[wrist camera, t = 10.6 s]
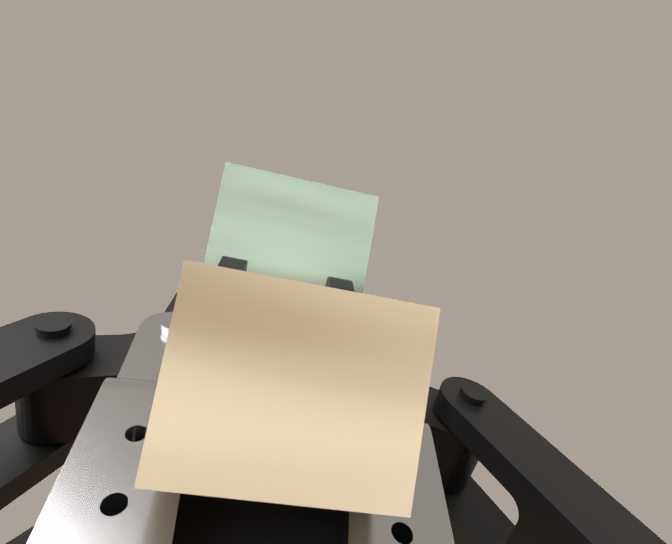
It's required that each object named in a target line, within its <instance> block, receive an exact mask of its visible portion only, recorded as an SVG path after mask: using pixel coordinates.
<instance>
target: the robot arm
mask: <svg viewBox="0 0 672 544" xmlns="http://www.w3.org/2000/svg"><path fill="white" fill-rule="evenodd" d="M247 264H248V260H243V259H238V258H233V257H227V256H222V258H221V260H220V262H219V264H218V266H220V267H226V268H231V269H236V270H242V271H247ZM325 286H326V287H331V288H336V289H342V290H347V291H352V292H355V290H354V286H353V282H352V281H351V280H345V279H340V278H335V277H330V276H329V277H328V278H327V281H326V284H325ZM176 297H177V293H176V295H175V296H174V298H173V300H172V301H171V303H170V304H169V306H168V307H167V309H166V311H165V312H164V313H159V314H155V315H152V316H150V317H148V318H147V319H145V320H144V321H143V322H142V323H141V324H140V326H139V328H138V331H137V332H136V333H132V334H124V335H95V325H94V323H93V322H92V321H91V320H90V319H89V318H87V317H85V316H83V315H79V314H76V313H70V312H48V313H42V314H38V315H33V316H30V317H27V318H24V319H22V320H19V321H16V322H13V323H11V324H8V325H5V326H3V327H0V409H1V408H3V407H5V406H7V405H9V404H11V403H13V402H15V408H16V415H15V416H13V417H11V418H10V419H8V420H6V421H4V422H3V423H1V424H0V510H1V509H2V508H4V507H5V506H7V505H8V504H9V503H11V502H12V501H13V500H15V499H16V498H18V497H19V496H20V495H22V494H23V493H25V492H26V491H27V490H29V489H30V488H32V487H33V486H34V485H36V484H37V483H39V482H40V481H41V480H43V479H44V478H45V477H47V476H48V475H49V474H51V473H52V472H54V471H55V470H57V469H58V468H59V467H61V466H62V465H63V467H62V469H61V471H60V473H59V476H58V478H57V480H56V482H55V484H54V486H53V488H52V490H51V492H50V494H49V497H48V499H47V501H46V503H45V505H44V507H43V509H42V512H41V513H40V516H39V518H38V520H37V522H36V524H35V525H34V526H33V527H31V528H30V529H28V530H26V531H25V532H23V533H22V534H20V535H19V536H17V537H16V538H14V539H13V540H11V541H9V542H8V543H6V544H666V543H665V542H663V540H661V539H660V538H659V537H658V536H657V535H656V534H655V533H653V532H652V531H651V530H650V529H649V528H648V527H646V526H645V525H644V524H643V523H642V522H641V521H640V520H638V519H637V518H636V517H635V516H634V515H632V514H631V513H630V512H629V511H628V510H627V509H626V508H624V507H623V506H622V505H621V504H620V503H619V502H618V501H616V500H615V499H614V498H613V497H612V496H611V495H609V494H608V493H607V492H606V491H605V490H604V489H603V488H601V487H600V486H599V485H598V484H597V483H596V482H594V481H593V480H592V479H591V478H590V477H589V476H587V475H586V474H585V473H584V472H583V471H582V470H580V469H579V468H578V467H577V466H576V465H575V464H574V463H572V462H571V461H570V460H569V459H568V458H567V457H566V456H564V455H563V454H562V453H561V452H560V451H559V450H557V449H556V448H555V447H554V446H553V445H552V444H550V443H549V442H548V441H547V440H546V439H545V438H544V437H542V436H541V435H540V434H539V433H538V432H536V430H534V429H533V428H532V427H531V426H530V425H529V424H527V423H526V422H525V421H524V420H523V419H522V418H520V417H519V416H518V415H517V414H516V413H515V412H514V411H512V410H511V409H510V408H509V407H508V406H507V405H505V404H504V403H503V402H502V401H501V400H500V399H499V398H497V397H496V396H495V395H494V394H493V393H492V392H490V391H489V390H488V389H487V388H485V387H484V386H482V385H480V384H478V383H476V382H474V381H471V380H469V379H465V378H461V377H450V378H447V379H445V380H444V381H443V382H442V384H441V386H440V389H439V390H437V389H434V388H432V387H429V392H428V399H427V406H426V413H425V420H424V427H423V434H422V441H421V448H420V455H419V462H418V469H417V476H416V483H415V490H414V497H413V504H412V511H411V518H407V517H398V516H389V515H379V514H370V513H360V512H351V511H342V510H332V509H323V508H313V507H304V506H295V505H285V504H276V503H267V502H257V501H248V500H238V499H229V498H220V497H210V496H201V495H191V494H182V493H173V492H163V491H154V490H144V489H135V488H134V485H135V480H136V476H137V471H138V467H139V463H140V458H141V454H142V449H143V445H144V440H145V436H146V431H147V427H148V422H149V418H150V413H151V409H152V404H153V400H154V395H155V391H156V386H157V382H158V377H159V373H160V368H161V364H162V359H163V355H164V350H165V346H166V341H167V337H168V332H169V328H170V323H171V319H172V314H173V310H174V305H175V301H176ZM478 460H479V461H480V462H481V463H482V464H483V465H484V466H485V467H486V469H487V470H488V471H489V472H490V473H491V474H492V475H493V476H494V477H495V478H496V479H497V480H498V481H499V482H500V483H501V484H502V485H503V487H504V488H505V489H506V490H507V491H508V492H509V493H510V494H511V495H512V497H513V498H514V500H515V502H516V504H517V507H518V511H519V519H518V522H517V524H516V525H514V524H513V523H512V522H511V521H510V520H509V519H508V518H507V517H506V515H505V514H504V513H503V512H502V511H501V510H500V509H499V508H498V506H497V505H496V504H495V503H494V502H493V501H492V500H491V499H490V498H489V496H488V495H487V494H486V493H485V492H484V491H483V490H482V489H481V487H480V486H479V485H478V484H477V483H476V482H475V481H474V480H473V479H472V477H471V474H472V472H473V470H474V468H475V466H476V464H477V462H478Z"/></svg>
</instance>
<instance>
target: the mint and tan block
mask: <svg viewBox="0 0 672 544" xmlns="http://www.w3.org/2000/svg"><path fill="white" fill-rule="evenodd" d="M378 199H379V197H377V196H373V195H368V194H364V193H360V192H355V191H350V190H346V189H342V188H338V187H333V186H328V185H324V184H320V183H315V182H311V181H307V180H302V179H298V178H293V177H289V176H285V175H281V174H276V173H272V172H267V171H263V170H259V169H254V168H249V167H245V166H241V165H237V164H232V163H228V162H226V164H225V168H224V173H223V177H222V182H221V187H220V191H219V196H218V200H217V205H216V210H215V214H214V219H213V223H212V228H211V233H210V237H209V242H208V247H207V251H206V256H205V260H204V263H199V262H194V261H189V260H185V261H184V265H183V270H182V274H181V279H180V283H179V288H178V292H177V297H176V301H175V305H174V310H173V314H172V319H171V323H170V328H169V332H168V337H167V341H166V346H165V350H164V355H163V359H162V364H161V368H160V373H159V377H158V382H157V386H156V391H155V395H154V400H153V404H152V409H151V413H150V418H149V422H148V427H147V431H146V436H145V440H144V445H143V449H142V454H141V458H140V463H139V467H138V471H137V476H136V480H135V485H134V488H135V489H144V490H154V491H163V492H173V493H182V494H191V495H201V496H210V497H220V498H229V499H238V500H248V501H257V502H267V503H276V504H285V505H295V506H304V507H313V508H323V509H332V510H342V511H351V512H360V513H370V514H379V515H389V516H398V517H407V518H411V511H412V504H413V497H414V490H415V483H416V476H417V469H418V462H419V455H420V448H421V441H422V434H423V427H424V420H425V413H426V406H427V399H428V392H429V385H430V378H431V371H432V364H433V357H434V350H435V343H436V336H437V329H438V322H439V315H440V308H436V307H431V306H426V305H421V304H416V303H410V302H404V301H400V300H394V299H389V298H383V297H379V296H373V295H367V294H363V289H364V283H365V277H366V271H367V265H368V259H369V253H370V247H371V241H372V235H373V229H374V223H375V217H376V211H377V205H378ZM222 256H227V257H233V258H238V259H243V260H248V264H247V271H242V270H236V269H231V268H226V267H220V266H218V264H219V262H220V260H221V258H222ZM329 276H330V277H335V278H340V279H345V280H351V281H352V282H353V286H354V290H355V292H352V291H347V290H342V289H336V288H331V287H326V286H325V284H326V281H327V278H328V277H329Z"/></svg>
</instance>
